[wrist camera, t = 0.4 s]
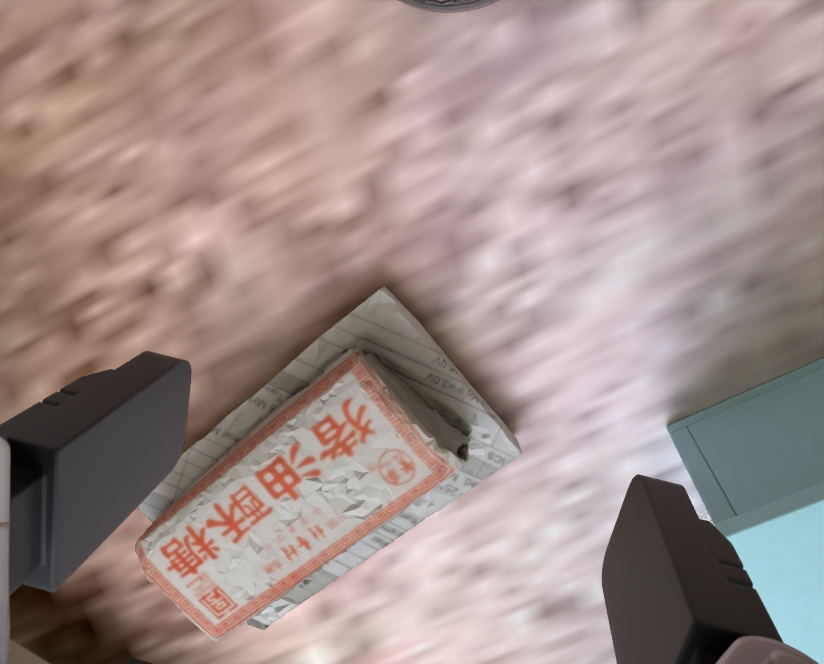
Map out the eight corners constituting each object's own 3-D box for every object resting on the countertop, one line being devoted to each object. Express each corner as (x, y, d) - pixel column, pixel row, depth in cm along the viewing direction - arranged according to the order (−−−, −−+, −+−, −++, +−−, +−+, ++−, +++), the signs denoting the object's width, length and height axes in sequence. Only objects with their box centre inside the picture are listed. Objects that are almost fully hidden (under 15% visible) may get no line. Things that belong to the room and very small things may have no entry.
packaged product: (233, 685, 32) (85, 542, 31) (268, 615, 37) (140, 488, 36) (527, 491, 27) (362, 307, 25) (525, 437, 31) (386, 278, 30)
